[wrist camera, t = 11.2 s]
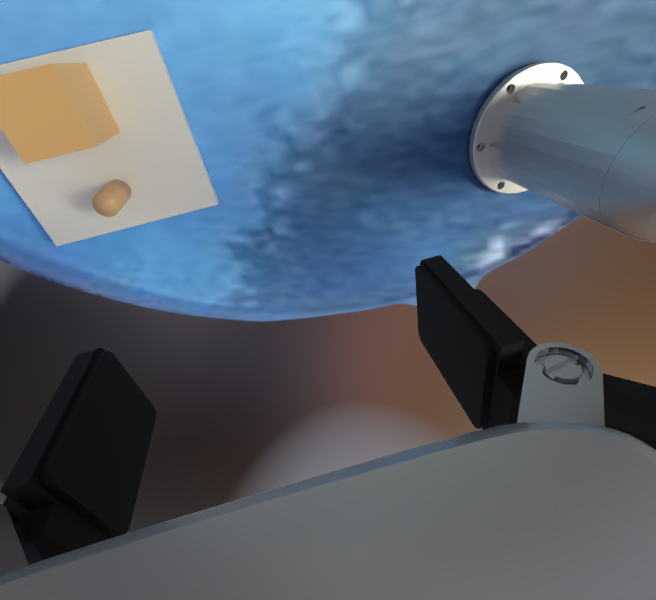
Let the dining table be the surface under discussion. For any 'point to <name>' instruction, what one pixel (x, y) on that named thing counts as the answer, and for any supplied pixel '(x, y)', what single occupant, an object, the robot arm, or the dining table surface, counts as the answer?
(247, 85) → the dining table surface
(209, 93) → the dining table surface
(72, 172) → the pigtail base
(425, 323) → the robot arm
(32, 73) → the tan cardboard-like box
